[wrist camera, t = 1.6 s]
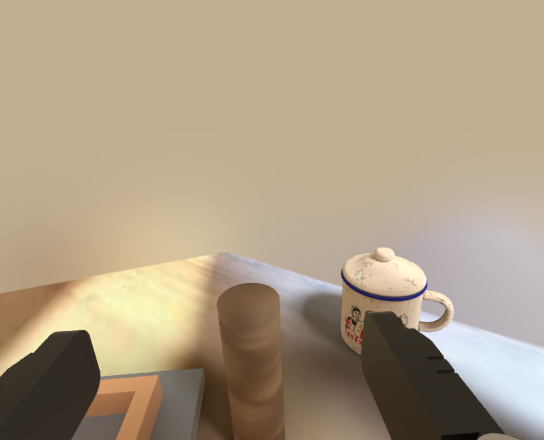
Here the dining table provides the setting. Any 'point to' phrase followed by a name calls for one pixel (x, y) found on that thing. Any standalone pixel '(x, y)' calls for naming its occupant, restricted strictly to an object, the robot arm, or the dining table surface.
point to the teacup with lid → (385, 294)
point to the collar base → (145, 407)
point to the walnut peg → (253, 360)
